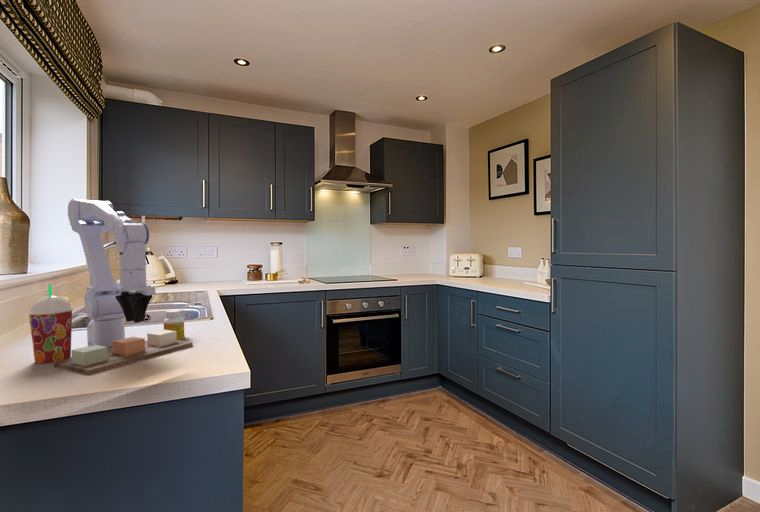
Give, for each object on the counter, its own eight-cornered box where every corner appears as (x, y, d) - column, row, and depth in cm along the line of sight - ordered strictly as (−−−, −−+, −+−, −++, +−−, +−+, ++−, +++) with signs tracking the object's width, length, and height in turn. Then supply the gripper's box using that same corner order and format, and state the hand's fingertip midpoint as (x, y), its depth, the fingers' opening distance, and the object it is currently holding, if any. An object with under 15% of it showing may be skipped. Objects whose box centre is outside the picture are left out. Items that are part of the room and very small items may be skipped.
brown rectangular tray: (54, 373, 92) (53, 362, 92) (159, 346, 116) (159, 337, 115) (88, 381, 86) (88, 370, 86) (192, 351, 109) (192, 342, 109)
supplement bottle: (176, 346, 116) (175, 312, 115) (159, 345, 117) (158, 312, 116) (188, 341, 121) (187, 309, 120) (173, 340, 122) (171, 309, 122)
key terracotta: (113, 356, 100) (112, 341, 100) (133, 351, 104) (132, 336, 104) (125, 359, 97) (124, 343, 97) (145, 353, 102) (144, 338, 102)
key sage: (72, 367, 92) (71, 350, 91) (95, 361, 96) (95, 344, 96) (84, 370, 89) (83, 352, 89) (108, 363, 94) (107, 347, 94)
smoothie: (74, 358, 104) (71, 282, 103) (75, 366, 97) (71, 284, 97) (31, 365, 99) (28, 284, 98) (29, 373, 92) (25, 287, 92)
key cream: (147, 348, 108) (147, 333, 108) (164, 343, 112) (164, 329, 112) (159, 350, 105) (159, 335, 105) (176, 345, 110) (176, 331, 110)
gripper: (100, 270, 103) (102, 322, 104) (135, 271, 97) (137, 326, 97) (127, 268, 110) (129, 317, 110) (162, 269, 103) (164, 321, 104)
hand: (135, 321), depth 104 cm, fingers open, 3 cm apart
